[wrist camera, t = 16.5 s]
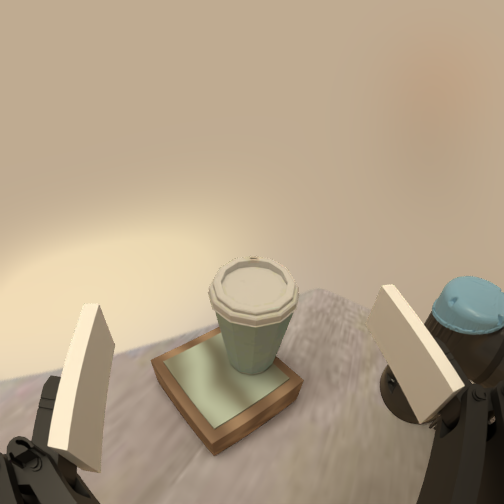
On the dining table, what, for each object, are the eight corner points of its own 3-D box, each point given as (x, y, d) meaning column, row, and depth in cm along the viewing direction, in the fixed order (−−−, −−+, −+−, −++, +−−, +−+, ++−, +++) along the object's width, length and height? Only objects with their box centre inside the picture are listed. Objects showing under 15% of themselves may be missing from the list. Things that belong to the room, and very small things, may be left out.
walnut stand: (234, 340, 51) (235, 316, 48) (296, 399, 41) (304, 378, 38) (157, 380, 42) (150, 358, 38) (214, 456, 32) (211, 442, 28)
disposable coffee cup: (288, 387, 36) (310, 312, 28) (209, 387, 36) (202, 310, 28) (280, 332, 45) (295, 254, 37) (213, 330, 44) (211, 251, 36)
